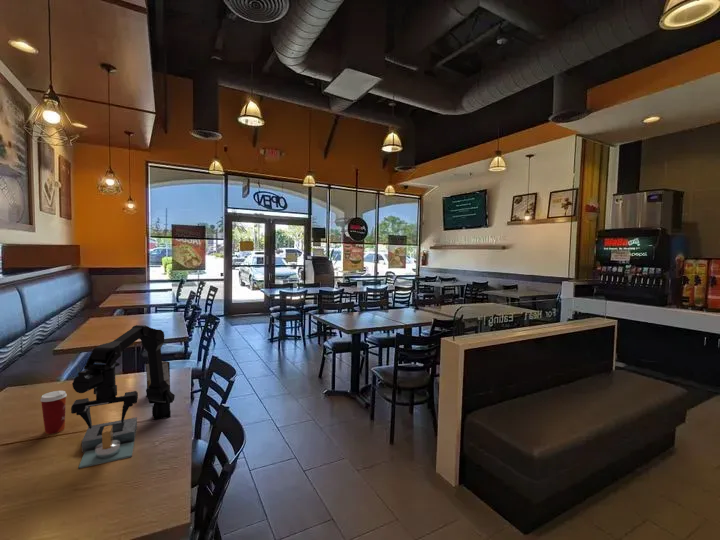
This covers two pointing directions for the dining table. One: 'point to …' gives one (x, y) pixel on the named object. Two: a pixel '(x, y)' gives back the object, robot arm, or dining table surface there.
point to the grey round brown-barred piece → (107, 444)
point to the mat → (91, 459)
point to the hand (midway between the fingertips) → (106, 425)
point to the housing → (120, 432)
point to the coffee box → (165, 373)
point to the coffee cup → (54, 411)
